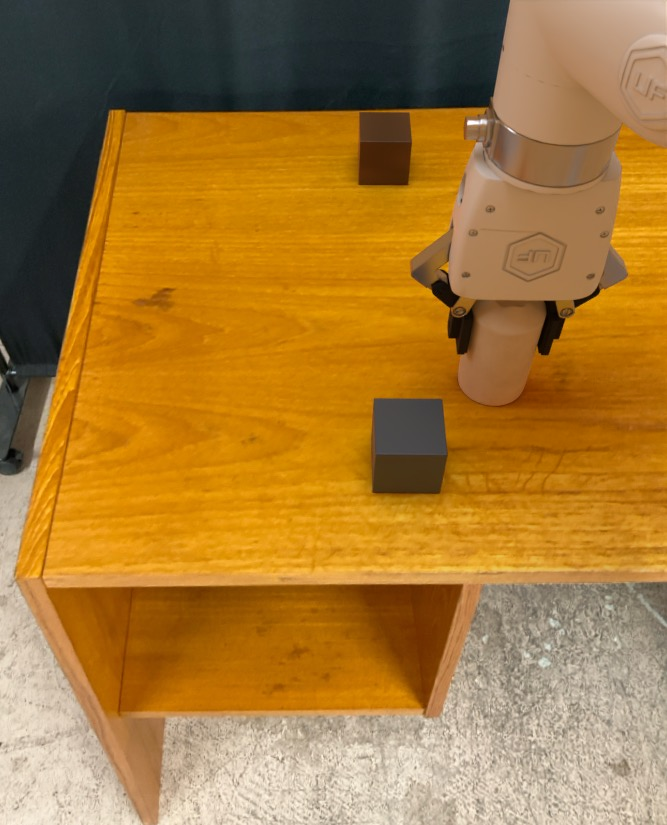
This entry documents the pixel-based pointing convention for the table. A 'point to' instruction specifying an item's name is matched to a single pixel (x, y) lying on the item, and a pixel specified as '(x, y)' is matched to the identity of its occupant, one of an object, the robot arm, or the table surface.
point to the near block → (408, 445)
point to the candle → (500, 349)
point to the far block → (384, 148)
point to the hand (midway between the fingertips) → (500, 339)
